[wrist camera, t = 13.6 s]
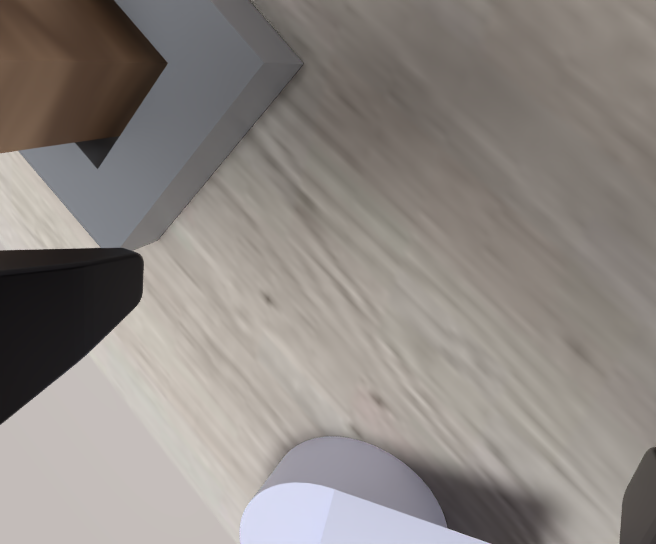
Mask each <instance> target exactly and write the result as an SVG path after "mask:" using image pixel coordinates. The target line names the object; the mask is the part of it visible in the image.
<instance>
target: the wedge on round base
mask: <svg viewBox="0 0 656 544" xmlns="http://www.w3.org/2000/svg"><path fill="white" fill-rule="evenodd" d="M240 544H490V543H487V542H485V541H482V540H479V539H476V538H473V537H470V536H467V535H465V534H462V533H459V532H456V531H453V530H450V529H447V523H446V520H445V517H444V514H443V511H442V509H441V507H440V505H439V503H438V501H437V499H436V498H435V496H434V495H433V493H432V492H431V490H430V489H429V488H428V486H427V485H426V484H425V483H424V481H423V480H422V479H421V478H420V477H419V476H418V475H417V474H416V473H415V472H414V471H413V470H412V469H411V468H410V467H408V466H407V465H406V464H404V463H403V462H402V461H401V460H399V459H398V458H396V457H395V456H393V455H391V454H390V453H388V452H386V451H384V450H382V449H380V448H378V447H376V446H374V445H371V444H369V443H366V442H363V441H360V440H356V439H352V438H346V437H338V436H326V437H319V438H313V439H310V440H307V441H304V442H302V443H300V444H298V445H296V446H295V447H294V448H292V449H291V450H290V451H289V452H288V453H287V454H286V455H285V456H284V457H283V458H282V460H281V461H280V462H279V464H278V465H277V466H276V468H275V469H274V470H273V472H272V473H271V474H270V476H269V477H268V478H267V480H266V481H265V482H264V484H263V485H262V486H261V488H260V489H259V490H258V492H257V493H256V494H255V496H254V497H253V498H252V500H251V501H250V502H249V504H248V505H247V507H246V509H245V510H244V513H243V516H242V519H241V523H240Z"/></svg>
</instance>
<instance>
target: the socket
mask: <svg viewBox="0 0 656 544" xmlns="http://www.w3.org/2000/svg"><path fill="white" fill-rule="evenodd" d="M114 1H115V2H116V3H117V4H118V5H119V7H120V8H121V9H122V10H123V11H124V12H125V14H126V15H127V16H128V17H129V18H130V19H131V20H132V22H133V23H134V24H135V25H136V26H137V27H138V29H139V30H140V31H141V32H142V33H143V34H144V36H145V37H146V38H147V39H148V40H149V41H150V43H151V44H152V45H153V46H154V47H155V48H156V50H157V51H158V52H159V53H160V54H161V55H162V57H163V58H164V59H165V60H166V61H167V62H168V64H167V66H166V67H165V69H164V70H163V72H162V73H161V75H160V76H159V78H158V79H157V81H156V82H155V84H154V85H153V87H152V88H151V90H150V91H149V93H148V94H147V96H146V97H145V99H144V100H143V102H142V103H141V105H140V106H139V108H138V109H137V111H136V112H135V114H134V115H133V117H132V118H131V120H130V121H129V123H128V124H127V126H126V127H125V129H124V130H123V132H122V133H121V135H120V136H116V137H109V138H102V139H96V140H89V141H82V142H75V143H68V144H61V145H54V146H47V147H40V148H33V149H26V150H19V152H20V154H21V155H22V156H23V157H24V158H25V159H26V161H27V162H28V163H29V164H30V165H31V166H32V168H33V169H34V170H35V171H36V172H37V174H38V175H39V176H40V177H41V178H42V179H43V181H44V182H45V183H46V184H47V185H48V186H49V188H50V189H51V190H52V191H53V192H54V193H55V195H56V196H57V197H58V198H59V199H60V201H61V202H62V203H63V204H64V205H65V206H66V208H67V209H68V210H69V211H70V212H71V213H72V215H73V216H74V217H75V218H76V219H77V221H78V222H79V223H80V224H81V225H82V226H83V228H84V229H85V230H86V231H87V232H88V233H89V235H90V236H91V237H92V238H93V239H94V240H95V242H96V243H97V244H98V245H99V246H100V248H126V249H128V250H131V251H133V250H135V249H138V248H140V247H143V246H145V245H148V244H150V243H152V242H155V241H157V240H158V239H159V238H160V237H161V235H162V234H163V233H164V232H165V231H166V229H167V228H168V227H169V226H170V225H171V223H172V222H173V221H174V220H175V219H176V217H177V216H178V215H179V214H180V212H181V211H182V210H183V209H184V208H185V206H186V205H187V204H188V203H189V202H190V200H191V199H192V198H193V197H194V196H195V194H196V193H197V192H198V191H199V190H200V188H201V187H202V186H203V185H204V183H205V182H206V181H207V180H208V179H209V177H210V176H211V175H212V174H213V173H214V171H215V170H216V169H217V168H218V167H219V165H220V164H221V163H222V162H223V161H224V159H225V158H226V157H227V156H228V155H229V153H230V152H231V151H232V150H233V148H234V147H235V146H236V145H237V144H238V142H239V141H240V140H241V139H242V138H243V136H244V135H245V134H246V133H247V132H248V130H249V129H250V128H251V127H252V126H253V124H254V123H255V122H256V121H257V120H258V118H259V117H260V116H261V115H262V113H263V112H264V111H265V110H266V109H267V107H268V106H269V105H270V104H271V103H272V101H273V100H274V99H275V98H276V97H277V95H278V94H279V93H280V92H281V91H282V89H283V88H284V87H285V86H286V85H287V83H288V82H289V81H290V80H291V78H292V77H293V76H294V75H295V74H296V72H297V71H298V70H299V69H300V68H301V66H302V65H303V64H304V63H303V62H302V61H301V60H300V59H299V58H298V56H297V55H296V54H295V53H294V52H293V51H292V49H291V48H290V47H289V46H288V45H287V44H286V43H285V41H284V40H283V39H282V38H281V37H280V36H279V34H278V33H277V32H276V31H275V30H274V29H273V27H272V26H271V25H270V24H269V23H268V22H267V21H266V19H265V18H264V17H263V16H262V15H261V14H260V12H259V11H258V10H257V9H256V8H255V7H254V5H253V4H252V3H251V2H250V1H249V0H114Z"/></svg>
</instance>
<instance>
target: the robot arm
mask: <svg viewBox="0 0 656 544" xmlns="http://www.w3.org/2000/svg"><path fill="white" fill-rule="evenodd" d="M143 271H144V261H143V258H142V256H141V255H140V254H138V253H136V252H134V251H131V250H128V249H126V248H83V249H43V250H3V251H0V425H1V424H2V423H3V422H4V421H6V420H7V419H8V418H9V417H11V416H12V415H13V414H14V413H16V412H17V411H18V410H19V409H20V408H22V407H23V406H24V405H26V404H27V403H28V402H29V401H30V400H32V399H33V398H34V397H36V396H37V395H38V394H39V393H40V392H42V391H43V390H44V389H45V388H47V387H48V386H49V385H50V384H51V383H53V382H54V381H55V380H57V379H58V378H59V377H60V376H62V375H63V374H64V373H65V372H66V371H68V370H69V369H70V368H72V367H73V366H74V365H75V364H76V363H78V362H79V361H80V360H81V359H82V358H83V357H85V356H86V355H87V354H88V353H89V352H90V351H91V350H92V349H93V348H94V347H95V346H96V345H97V344H98V343H99V342H100V341H101V340H102V339H103V338H104V337H105V336H107V335H108V334H109V333H110V332H111V331H112V330H113V329H114V328H115V327H116V326H117V325H118V324H119V323H120V322H121V321H122V320H123V319H124V318H125V317H126V316H127V315H128V314H129V313H130V312H131V311H132V310H133V309H134V308H135V307H136V306H137V305H138V303H139V302H140V300H141V297H142V293H143ZM620 544H656V447H652V448H650V449H649V450H648V451H647V452H646V453H645V455H644V457H643V459H642V460H641V462H640V464H639V466H638V468H637V470H636V471H635V473H634V475H633V477H632V479H631V481H630V483H629V484H628V486H627V488H626V491H625V494H624V497H623V503H622V515H621V530H620Z"/></svg>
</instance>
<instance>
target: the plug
mask: <svg viewBox="0 0 656 544" xmlns="http://www.w3.org/2000/svg"><path fill="white" fill-rule="evenodd" d="M167 64H168V62H167V61H166V60H165V59H164V58H163V57H162V55H161V54H160V53H159V52H158V51H157V50H156V48H155V47H154V46H153V45H152V44H151V43H150V41H149V40H148V39H147V38H146V37H145V36H144V34H143V33H142V32H141V31H140V30H139V29H138V27H137V26H136V25H135V24H134V23H133V22H132V20H131V19H130V18H129V17H128V16H127V15H126V14H125V12H124V11H123V10H122V9H121V8H120V7H119V5H118V4H117V3H116V2H115V1H114V0H0V153H5V152H12V151H19V150H26V149H33V148H40V147H47V146H54V145H61V144H68V143H75V142H82V141H89V140H96V139H102V138H109V137H116V136H120V135H121V133H122V132H123V130H124V129H125V127H126V126H127V124H128V123H129V121H130V120H131V118H132V117H133V115H134V114H135V112H136V111H137V109H138V108H139V106H140V105H141V103H142V102H143V100H144V99H145V97H146V96H147V94H148V93H149V91H150V90H151V88H152V87H153V85H154V84H155V82H156V81H157V79H158V78H159V76H160V75H161V73H162V72H163V70H164V69H165V67H166V66H167Z"/></svg>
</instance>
